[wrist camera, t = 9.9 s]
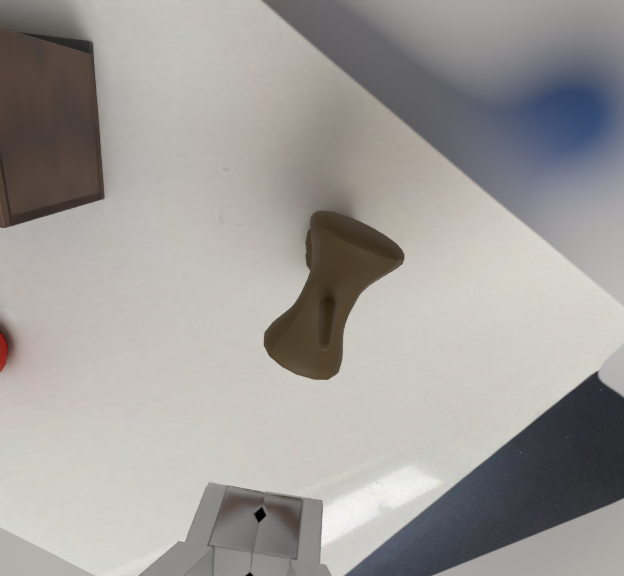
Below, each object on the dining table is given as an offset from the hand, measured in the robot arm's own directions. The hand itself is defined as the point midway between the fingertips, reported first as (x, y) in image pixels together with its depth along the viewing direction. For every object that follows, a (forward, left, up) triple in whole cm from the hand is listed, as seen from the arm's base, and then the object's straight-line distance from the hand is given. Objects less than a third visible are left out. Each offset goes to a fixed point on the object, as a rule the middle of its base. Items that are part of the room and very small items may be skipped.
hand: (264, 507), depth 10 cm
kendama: (0, +1, -29) cm, 29 cm away
